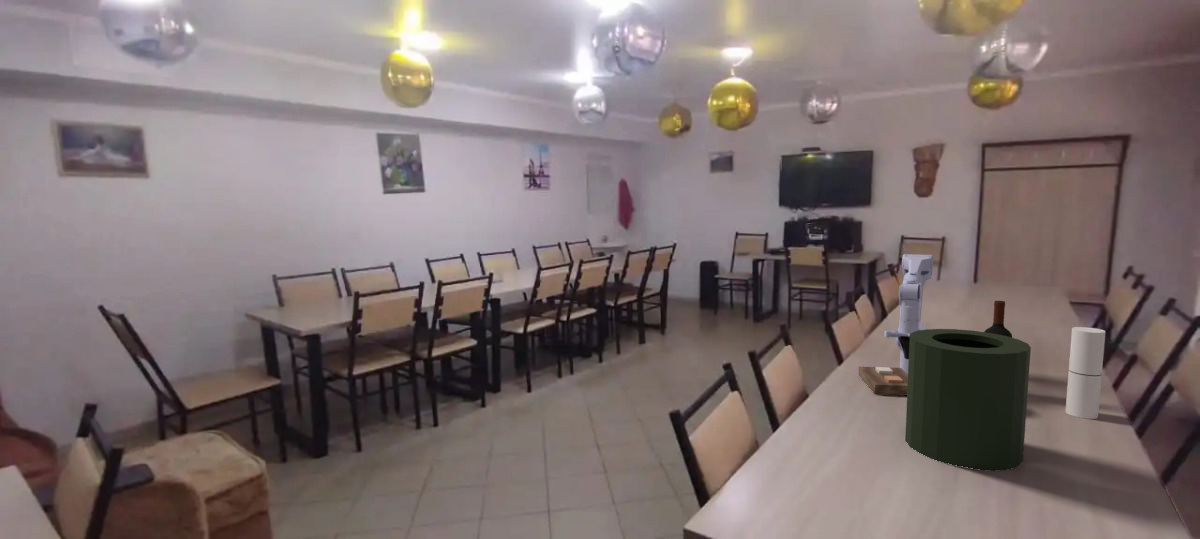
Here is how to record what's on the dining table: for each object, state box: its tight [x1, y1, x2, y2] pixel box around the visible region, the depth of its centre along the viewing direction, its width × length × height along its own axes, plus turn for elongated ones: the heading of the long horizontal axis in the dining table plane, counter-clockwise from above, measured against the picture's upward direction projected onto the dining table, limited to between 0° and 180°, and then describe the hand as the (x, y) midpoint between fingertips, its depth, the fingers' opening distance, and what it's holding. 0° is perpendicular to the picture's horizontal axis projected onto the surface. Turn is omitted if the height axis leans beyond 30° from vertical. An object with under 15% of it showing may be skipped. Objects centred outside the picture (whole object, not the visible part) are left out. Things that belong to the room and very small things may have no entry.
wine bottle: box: [983, 300, 1013, 338], centre depth 178 cm, size 8×8×30 cm
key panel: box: [857, 366, 908, 396], centre depth 188 cm, size 14×20×3 cm
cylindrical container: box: [1065, 326, 1106, 420], centre depth 159 cm, size 7×7×25 cm
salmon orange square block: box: [884, 376, 903, 383], centre depth 183 cm, size 4×4×3 cm
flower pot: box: [904, 328, 1032, 472], centre depth 139 cm, size 25×25×28 cm
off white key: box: [874, 366, 893, 374], centre depth 193 cm, size 4×4×3 cm
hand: (907, 358), depth 187 cm, fingers closed
